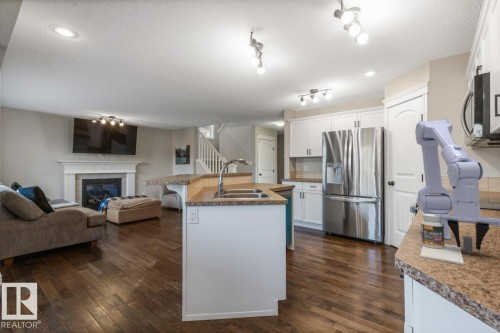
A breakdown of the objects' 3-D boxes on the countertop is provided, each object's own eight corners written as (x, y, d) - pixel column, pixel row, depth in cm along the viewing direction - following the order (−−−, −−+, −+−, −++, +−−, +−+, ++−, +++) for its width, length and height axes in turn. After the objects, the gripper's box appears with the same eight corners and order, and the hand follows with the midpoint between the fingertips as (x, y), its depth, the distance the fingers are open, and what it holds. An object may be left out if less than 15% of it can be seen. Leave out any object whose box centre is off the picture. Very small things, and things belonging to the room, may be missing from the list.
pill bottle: (424, 247, 70) (422, 215, 70) (420, 242, 75) (418, 213, 75) (447, 250, 67) (445, 217, 68) (441, 244, 72) (440, 214, 73)
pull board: (423, 242, 77) (423, 229, 77) (470, 249, 69) (470, 234, 70) (420, 257, 63) (419, 241, 63) (478, 267, 56) (477, 249, 56)
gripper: (434, 201, 68) (436, 246, 67) (505, 204, 59) (508, 257, 58) (434, 199, 73) (436, 240, 73) (499, 202, 64) (502, 250, 63)
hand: (468, 247), depth 66 cm, fingers open, 3 cm apart
